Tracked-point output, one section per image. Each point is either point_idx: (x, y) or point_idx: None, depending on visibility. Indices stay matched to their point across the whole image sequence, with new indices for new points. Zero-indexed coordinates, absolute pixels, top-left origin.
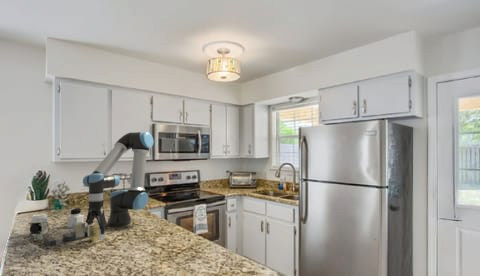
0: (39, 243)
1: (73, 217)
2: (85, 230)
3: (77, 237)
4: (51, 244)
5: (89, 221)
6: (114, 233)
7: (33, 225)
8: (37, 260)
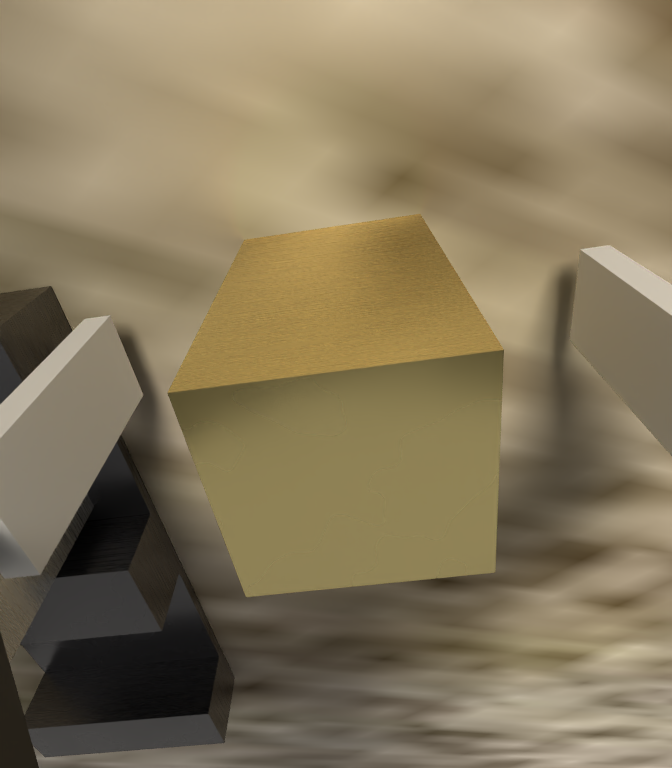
0: (27, 706)
1: None
2: None
3: None
4: (226, 696)
5: (11, 672)
6: None
7: None
8: (530, 743)
